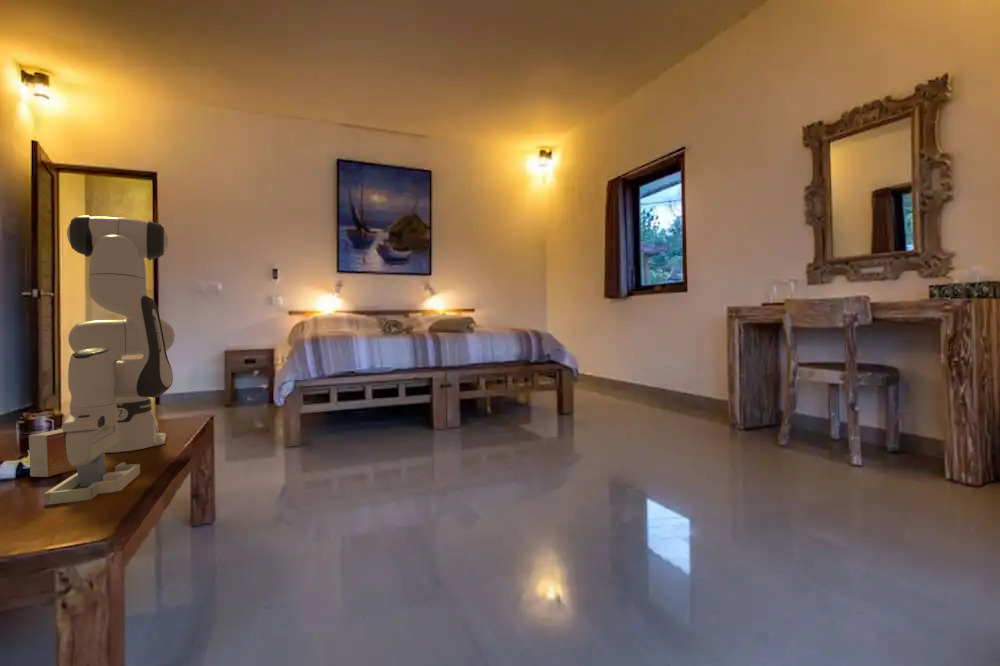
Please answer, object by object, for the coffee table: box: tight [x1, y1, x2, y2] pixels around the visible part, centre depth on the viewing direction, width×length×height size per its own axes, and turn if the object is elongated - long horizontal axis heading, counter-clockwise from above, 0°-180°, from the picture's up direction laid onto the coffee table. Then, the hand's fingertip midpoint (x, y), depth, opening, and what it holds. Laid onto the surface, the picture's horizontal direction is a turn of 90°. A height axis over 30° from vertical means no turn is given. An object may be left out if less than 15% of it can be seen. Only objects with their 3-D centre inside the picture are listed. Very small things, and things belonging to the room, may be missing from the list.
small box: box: [28, 428, 77, 478], centre depth 130 cm, size 8×6×10 cm
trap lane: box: [43, 461, 141, 506], centre depth 119 cm, size 22×12×2 cm, turn 20°
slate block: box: [76, 454, 108, 488], centre depth 120 cm, size 4×4×6 cm
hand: (97, 473), depth 123 cm, fingers closed, pressing on slate block
